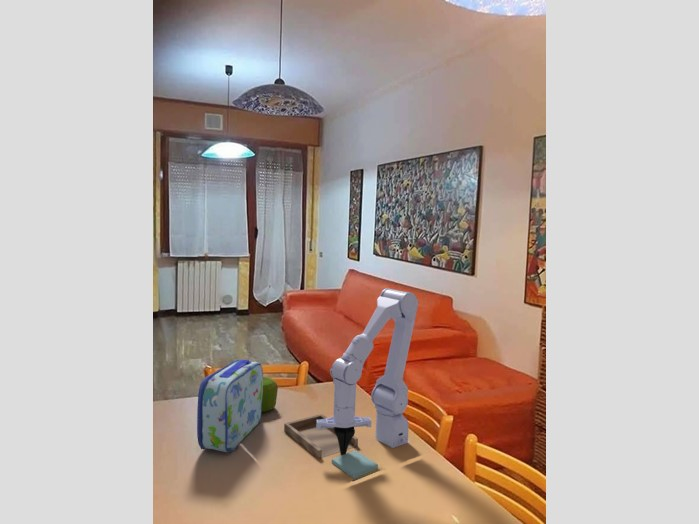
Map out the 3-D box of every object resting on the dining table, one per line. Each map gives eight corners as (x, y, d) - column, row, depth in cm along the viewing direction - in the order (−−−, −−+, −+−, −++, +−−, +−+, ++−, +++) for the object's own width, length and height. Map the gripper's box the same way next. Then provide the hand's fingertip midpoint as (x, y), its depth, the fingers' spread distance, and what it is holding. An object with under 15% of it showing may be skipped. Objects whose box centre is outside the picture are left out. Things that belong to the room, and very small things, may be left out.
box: (357, 448, 131) (358, 438, 131) (318, 461, 123) (318, 450, 123) (321, 423, 146) (321, 413, 146) (284, 433, 139) (284, 423, 138)
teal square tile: (377, 472, 120) (378, 464, 120) (353, 483, 115) (353, 474, 115) (355, 457, 127) (355, 450, 127) (331, 467, 122) (331, 458, 122)
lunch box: (234, 415, 150) (235, 351, 148) (266, 419, 148) (267, 354, 146) (191, 455, 124) (191, 378, 122) (228, 460, 122) (229, 383, 120)
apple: (236, 412, 152) (237, 380, 151) (253, 400, 162) (253, 370, 161) (268, 418, 149) (268, 385, 148) (282, 405, 159) (283, 374, 158)
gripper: (367, 397, 130) (365, 444, 131) (315, 399, 127) (314, 447, 128) (373, 407, 123) (371, 457, 124) (318, 409, 120) (317, 460, 121)
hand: (342, 453), depth 126 cm, fingers closed
